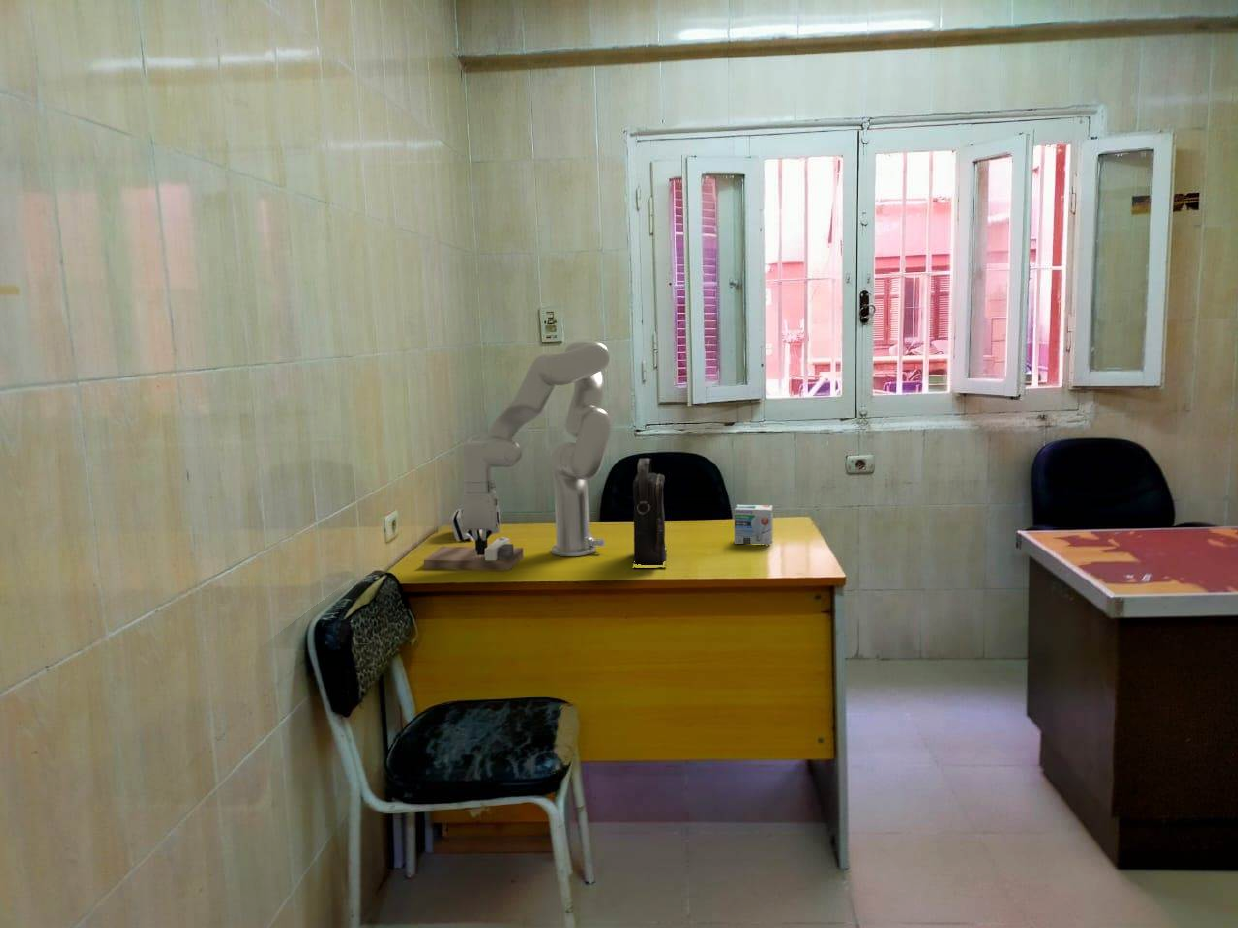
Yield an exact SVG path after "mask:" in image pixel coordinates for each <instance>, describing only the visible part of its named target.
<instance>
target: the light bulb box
mask: <svg viewBox="0 0 1238 928" xmlns="http://www.w3.org/2000/svg"><path fill="white" fill-rule="evenodd" d="M773 507H774V506H773V504H767V505H764V504H736V507H735V508H734V545H735V544H761V545H762V544H764V545H770V544H771V545H772V543H771V542H773V541H772V539H773V537H774V536H773V528H774V527H773V526H774V525H773V522H774V519H773V516H774V515H773V514H774V513H773V511H774V508H773Z"/></svg>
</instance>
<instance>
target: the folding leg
mask: <svg viewBox="0 0 1238 928" xmlns="http://www.w3.org/2000/svg"><path fill="white" fill-rule="evenodd" d="M504 544H510V538H508V537H507V538H506V537H503V536H502V537H498V538H497V539H496V540H494V541H493V542H492V543H491V544H489V545H488V547H487V548H486V549H485V560H497V559H498V558H499V548H500V547H501V546H503V545H504Z"/></svg>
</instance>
